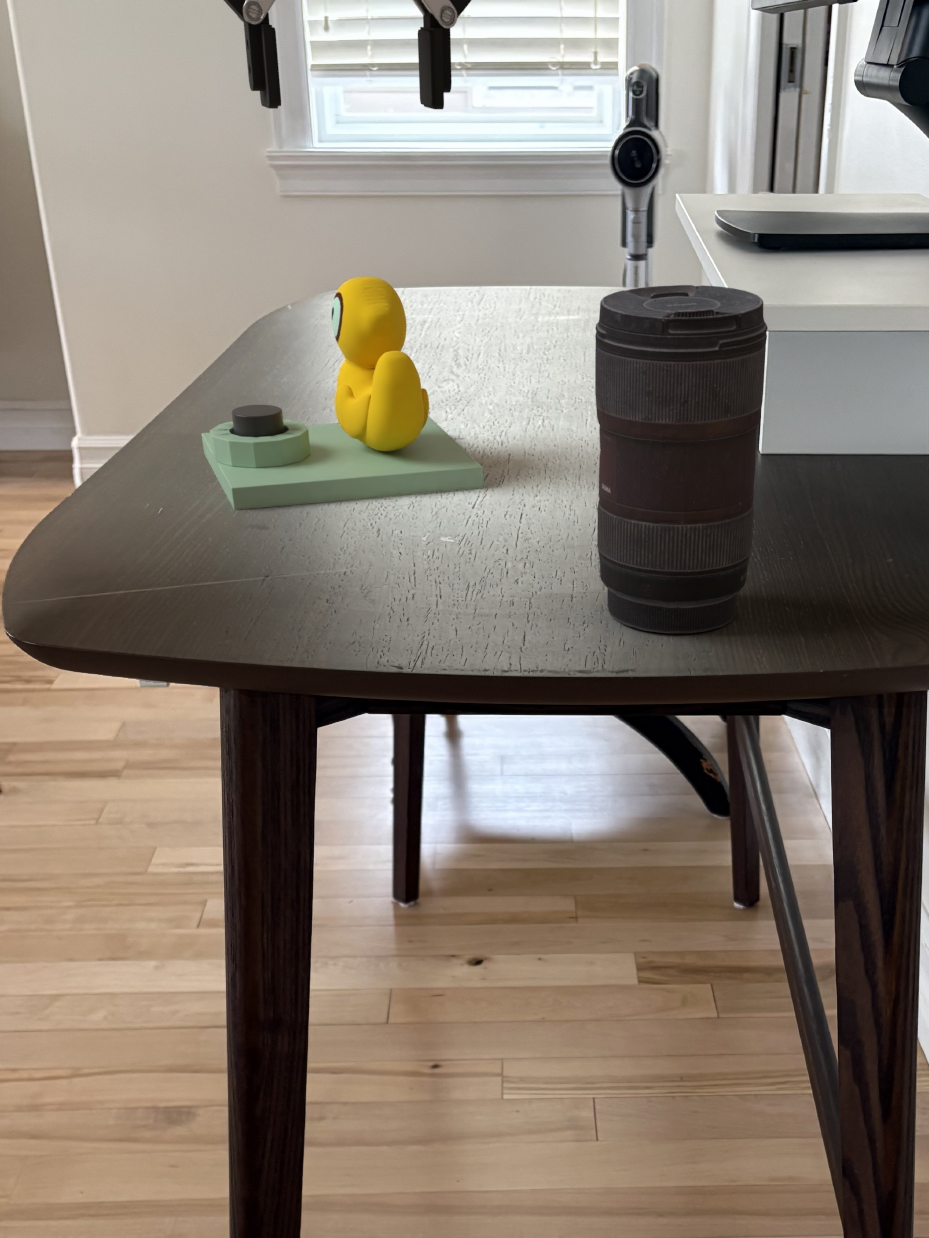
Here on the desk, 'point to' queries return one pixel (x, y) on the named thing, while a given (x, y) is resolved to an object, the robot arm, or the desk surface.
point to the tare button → (258, 421)
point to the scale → (333, 465)
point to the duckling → (376, 367)
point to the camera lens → (677, 451)
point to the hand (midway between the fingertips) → (352, 107)
